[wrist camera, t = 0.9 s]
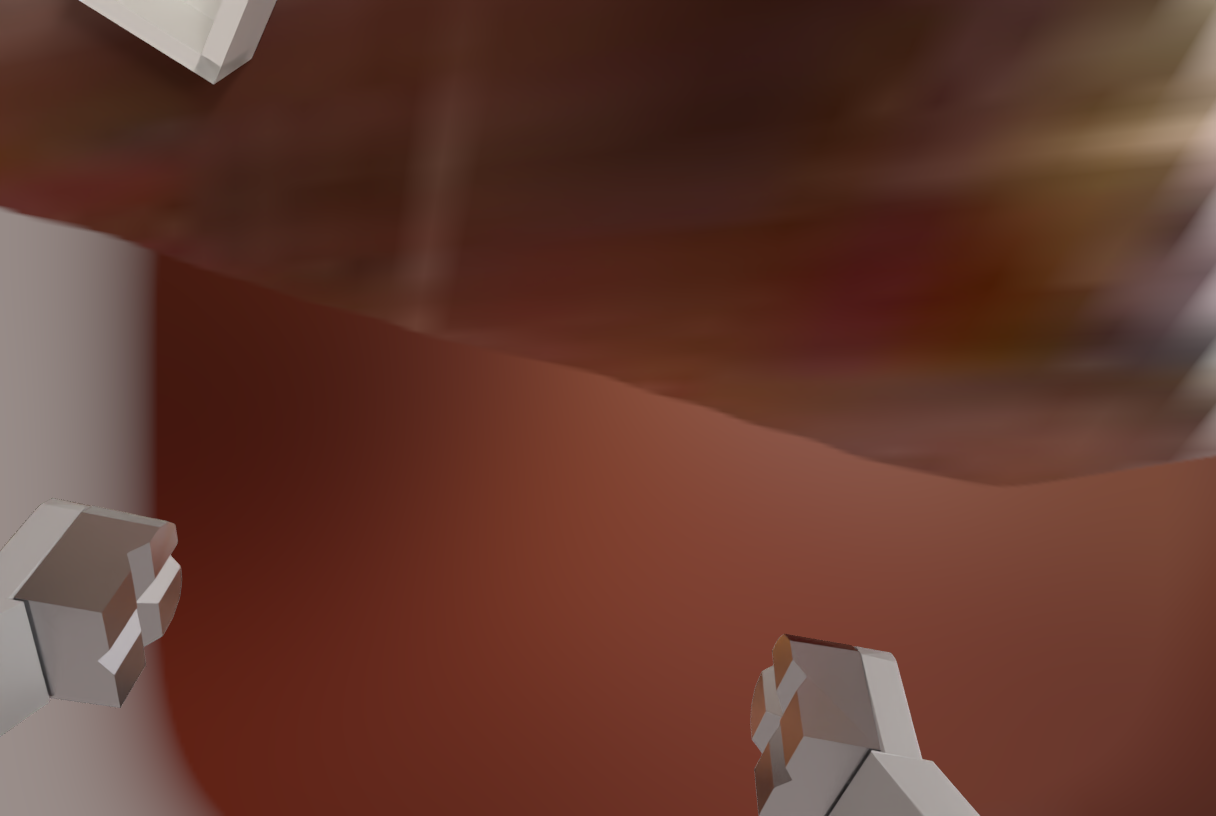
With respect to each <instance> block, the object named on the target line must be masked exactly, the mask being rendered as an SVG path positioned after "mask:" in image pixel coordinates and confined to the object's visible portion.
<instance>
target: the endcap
mask: <svg viewBox="0 0 1216 816" xmlns="http://www.w3.org/2000/svg"><path fill="white" fill-rule="evenodd" d="M79 1H81V2H82V3H84V4H86V5H87V6H89V7H90V8H92V9H94V10H95V11H97V12H98V13H100V14H102V15H103V16H105V17H106V18H108V19H110V20H111V21H113V22H114V23H116V24H118V25H119V26H121V27H122V28H124V29H126V30H127V31H129V32H130V33H132V34H134V35H135V36H137V37H138V38H140V39H142V40H143V41H145V42H146V43H148V44H150V45H151V46H153V47H154V48H156V49H158V50H159V51H161V52H162V53H164V54H166V55H167V56H169V57H170V58H172V59H174V60H175V61H177V62H179V63H180V64H182V65H183V66H185V67H187V68H188V69H190V70H191V71H193V72H195V73H196V74H198V75H199V76H201V77H203V78H204V79H206V80H207V81H209V82H211V83H212V84H215V83H217V82H218V81H220V80H221V79H223V78H224V77H226V76H227V75H229V74H230V73H231V72H233V71H234V70H236V69H237V68H239V67H240V66H242V65H243V64H245V63H246V62H248V61H249V60H250V59H252V57H253V55H254V52H255V50H256V48H257V45H258V43H259V41H260V38H261V36H262V34H263V31H264V29H265V27H266V24H267V22H268V19H269V17H270V15H271V12H272V10H273V8H274V5H275V3H276V1H277V0H79Z"/></svg>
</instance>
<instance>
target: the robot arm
mask: <svg viewBox="0 0 1216 816" xmlns="http://www.w3.org/2000/svg"><path fill="white" fill-rule="evenodd" d="M177 543H178V539H177V533H176V526H175V524H173V523H171V522H168V521H164V520H159V519H154V518H149V517H144V516H140V515H135V514H130V513H126V512H120V511H116V510H111V509H106V508H102V507H97V506H90V505H85V504H80V503H75V502H70V501H65V500H60V499H55V498H51V499H50V500H48V501H46V502H44V503H42V504H41V505H39V506H38V507H37V508H36V509H35V511H34V512H33V513H32V514H31V515H30V516H29V518H28V519H27V520H26V521H25V522H24V523H23V525H22V526H21V527H20V528H19V529H18V530H17V531H16V533H15V534H14V535H13V536H12V537H11V539H10V540H9V541H8V542H7V543H6V544H5V545H4V547H3V548H2V549H1V550H0V737H1V736H2V735H3V734H5V733H6V732H8V731H9V730H11V729H12V728H14V727H15V726H16V725H18V724H19V723H21V722H22V721H24V720H25V719H26V718H28V717H29V716H31V715H32V714H34V713H35V712H37V711H38V710H39V709H41V708H42V707H44V706H45V705H47V704H48V703H49V702H50V698H54V699H61V700H68V701H75V702H83V703H89V704H96V705H104V706H111V707H118V708H121V706H122V704H123V702H124V701H125V699H126V697H127V696H128V694H129V692H130V691H131V689H132V687H133V686H134V684H135V682H136V681H137V679H138V677H139V675H140V674H141V672H142V670H143V669H144V667H145V665H146V661H145V654H144V646H147V645H148V644H150V643H152V642H153V641H155V640H157V639H159V638H160V637H162V636H163V634H164V632H165V631H166V629H167V627H168V625H169V624H170V622H171V620H172V618H173V616H174V613H175V610H176V607H177V604H178V601H179V598H180V593H181V584H182V574H181V566H180V565H179V564H178V563H177V562H176V561H175V560H174V559H173V558H172V557H171V553H172V551H173V550H174V548H175V547H176V545H177ZM772 654H773V664H774V665H773V666H771V667H769V668H768V669H766V670H764V671H762V673H761V675H760V677H759V680H758V682H757V684H756V687H755V691H754V696H753V700H752V705H751V734H752V740H753V741H754V743H755V744H756V746H757V747H758V748H759V749H760V751H761V752H762V756H761V757H760V759H759V761H758V764H757V765H756V767H755V769H754V771H755V781H756V792H757V803H758V814H759V816H980V815H978V813H977V812H976V811H975V810H974V808H973V807H972V806H971V805H970V804H969V803H968V801H967V800H966V799H965V798H964V797H963V796H962V795H961V793H960V792H959V791H958V790H957V789H956V788H955V787H954V785H953V784H952V783H951V782H950V781H949V780H948V778H947V777H946V776H945V775H944V774H943V773H942V772H941V770H940V769H939V768H938V767H937V766H936V765H935V764H934V762H933V761H929V760H924V759H922V757H921V753H920V749H919V745H918V742H917V738H916V734H915V730H914V726H913V723H912V719H911V715H910V711H909V707H908V704H907V700H906V696H905V692H904V688H903V685H902V681H901V677H900V673H899V669H898V666H897V662H896V659H895V658H894V656H893V655H892V654H891V653H889V652H883V651H877V650H872V649H866V648H861V647H853V646H851V645H846V644H841V643H834V642H828V641H823V640H817V639H811V638H806V637H800V636H793V635H788V634H783V635H782V636H781V637H780V638H779V639H778V640H777V642H776V644H775V646H774V648H773V650H772Z"/></svg>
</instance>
